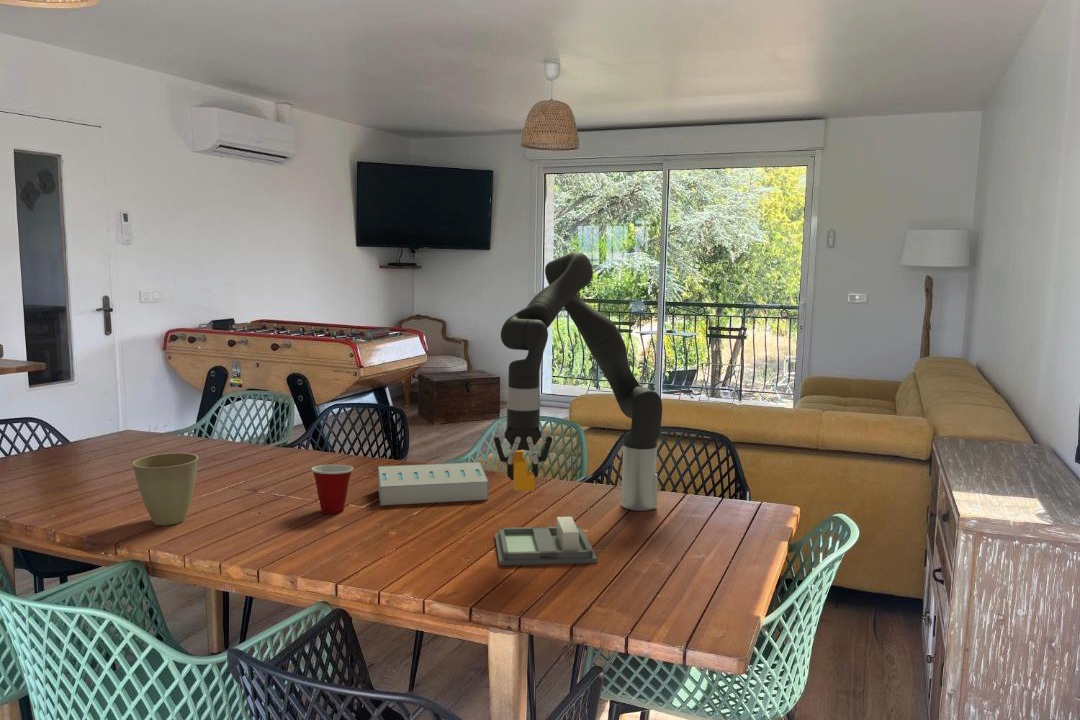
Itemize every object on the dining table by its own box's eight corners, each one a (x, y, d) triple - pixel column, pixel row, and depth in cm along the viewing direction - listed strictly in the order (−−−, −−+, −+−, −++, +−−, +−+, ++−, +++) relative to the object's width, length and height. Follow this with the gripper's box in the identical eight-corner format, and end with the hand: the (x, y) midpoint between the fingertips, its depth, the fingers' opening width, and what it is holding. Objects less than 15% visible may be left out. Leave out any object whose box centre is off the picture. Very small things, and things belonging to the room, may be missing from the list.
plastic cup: (361, 506, 213) (361, 463, 212) (339, 519, 203) (339, 474, 202) (326, 502, 217) (326, 460, 215) (303, 514, 206) (302, 469, 205)
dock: (583, 535, 195) (584, 511, 194) (597, 562, 177) (597, 537, 176) (495, 537, 192) (495, 513, 191) (499, 565, 174) (499, 539, 174)
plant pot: (187, 507, 210) (185, 449, 208) (210, 521, 199) (207, 460, 197) (127, 520, 200) (124, 458, 198) (147, 535, 189) (144, 470, 187)
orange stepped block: (534, 490, 176) (534, 462, 175) (515, 490, 176) (515, 462, 175) (529, 475, 188) (529, 449, 187) (511, 476, 187) (511, 449, 187)
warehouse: (380, 506, 215) (380, 479, 214) (378, 491, 229) (378, 466, 228) (488, 501, 222) (488, 474, 221) (480, 486, 236) (480, 462, 235)
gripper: (552, 403, 184) (550, 474, 186) (491, 403, 182) (490, 474, 185) (556, 409, 177) (554, 483, 179) (493, 409, 175) (492, 484, 177)
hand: (522, 478), depth 182 cm, fingers closed on orange stepped block, 4 cm apart
